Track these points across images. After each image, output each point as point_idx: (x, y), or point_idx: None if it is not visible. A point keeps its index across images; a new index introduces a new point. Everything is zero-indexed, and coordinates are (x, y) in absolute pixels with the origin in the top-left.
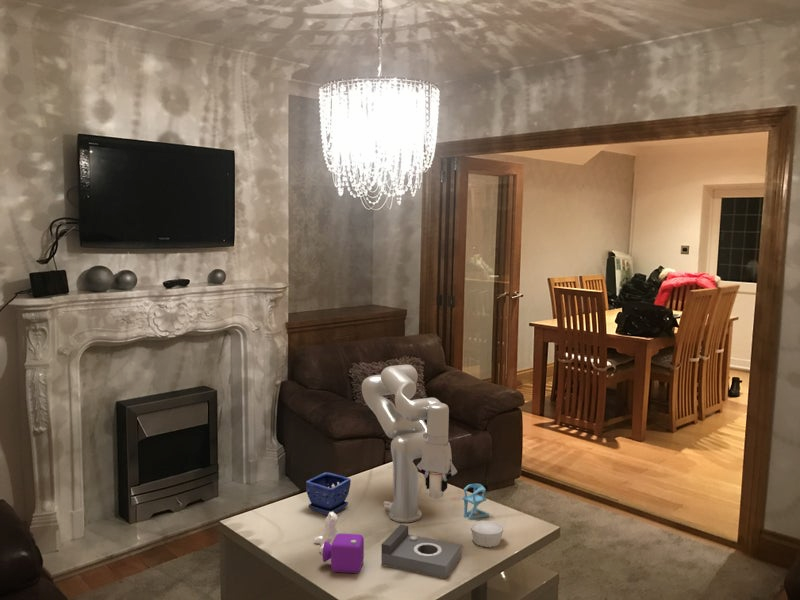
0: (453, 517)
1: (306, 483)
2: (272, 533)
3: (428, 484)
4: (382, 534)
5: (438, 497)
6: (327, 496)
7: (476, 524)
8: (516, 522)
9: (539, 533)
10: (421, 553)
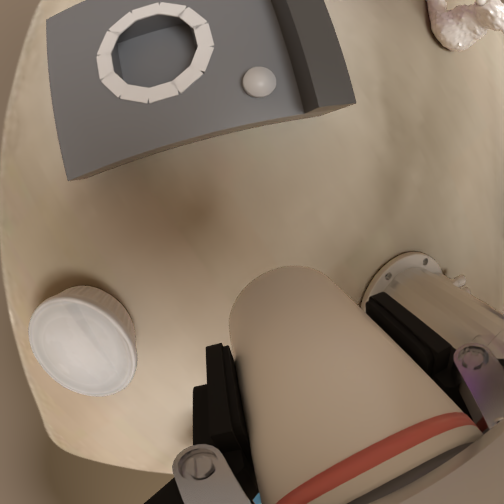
0: None
1: None
2: None
3: (389, 322)
4: (401, 147)
5: (242, 294)
6: None
7: (123, 356)
8: (125, 444)
9: (53, 421)
10: (157, 11)
